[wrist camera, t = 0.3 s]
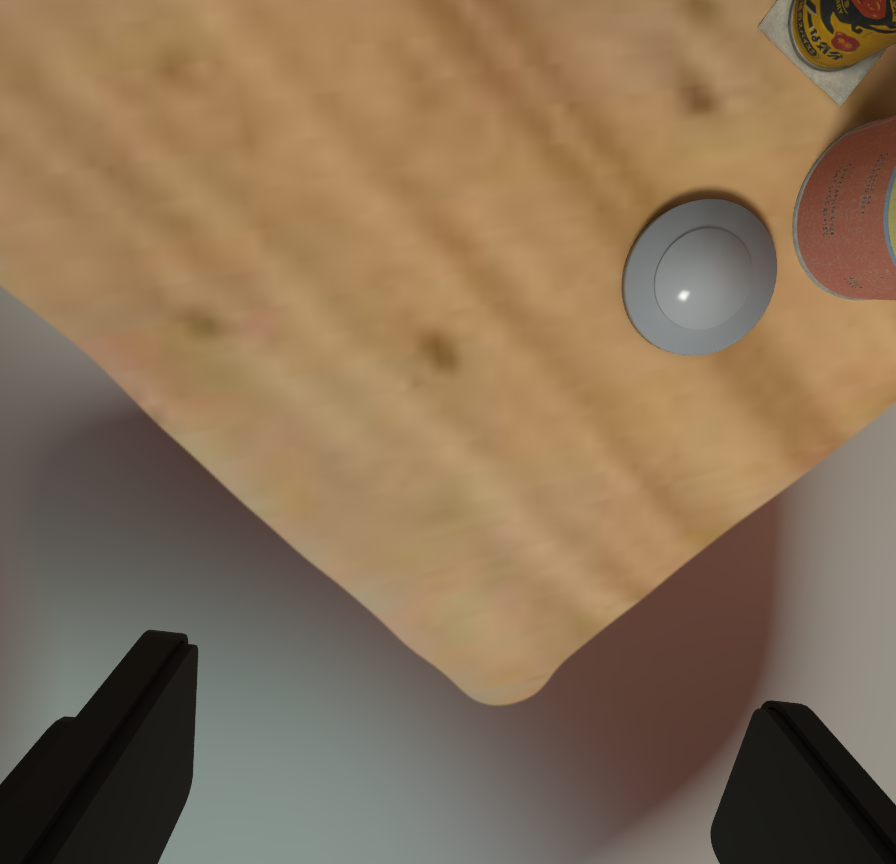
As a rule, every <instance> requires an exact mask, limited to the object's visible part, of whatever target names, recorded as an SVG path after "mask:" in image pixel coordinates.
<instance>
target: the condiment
mask: <svg viewBox="0 0 896 864" xmlns="http://www.w3.org/2000/svg"><path fill="white" fill-rule="evenodd" d="M758 27H759V28H760V30H761V31H762V32H763V33H765V35H767V36H768V37H769V38H770V39H771V40H772V42H773V43H774V44H775V45H777V46H778V48H779V49H780V50H781V51H782V52H783V53H784V54H785V55H786V56H787V57H788V58H789V59H790V60H791V61H792V62H793V63H794V64H795V65H796V66H797V67H798V68H799V69H801V70H802V71H803V72H804V73H805V74H806V75H807V76H808V77H809V78H810V79H811V80H812V81H813V82H814V83H815V84H816V85H818V86H819V87H820V88H821V89H823V90H824V91H825V92H826V93H827V94H828V95H829V96H830V97H831V98H832V99H833V100H834V101H835V102H836V103H837V104H838V105H839V106H841V105H842V104H843V103H844V102H845V100H846V99H847V98H848V96H849V95H850V94H851V93H852V91H853V90H854V89H855V87H856V86H857V85H858V84H859V82H860V81H861V80H862V79H863V77H864V76H865V75H866V74H867V73H868V71H869V70H870V68H871V67H872V66H873V65H874V64H875V62H876V61H877V60H878V59H879V58H880V57H881V55H882V54H883V52H884V51H885V50H886V49H887V48H888V47H890V46H891V45H893V44H895V43H896V0H777V2H776V3H775V5H774V6H773V7H772V9H771V10H770V11H769V12H768V14H767V15H766V16H765V18H764V19H763V21H762V22H761V23H760V25H759V26H758Z"/></svg>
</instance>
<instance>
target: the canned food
mask: <svg viewBox="0 0 896 864" xmlns="http://www.w3.org/2000/svg"><path fill="white" fill-rule="evenodd" d="M793 239H794V245H795V250H796V253H797V256H798V259H799V261H800V263H801V265H802V267H803V269H804V270H805V272H806V273H807V275H808V276H809V277H810V279H811V280H812V281H813V282H814V283H815V284H817V285H818V286H819V287H820V288H822V289H823V290H825V291H827V292H828V293H830V294H833V295H835V296H838V297H841V298H845V299H851V300H872V299H878V300H896V115H893V116H890V117H887V118H884V119H879V120H875V121H872V122H869V123H866V124H863V125H861V126H859V127H856V128H855V129H853V130H851V131H849V132H847V133H846V134H844V135H843V136H841V137H840V138H839V139H838V140H836V141H835V142H834V143H833V144H832V145H830V146H829V147H828V148H827V149H826V150H825V151H824V153H823V154H822V155H821V156H820V157H819V158H818V160H817V161H816V162H815V164H814V165H813V166H812V168H811V170H810V171H809V173H808V174H807V176H806V178H805V180H804V182H803V184H802V187H801V189H800V192H799V195H798V197H797V201H796V205H795V209H794V216H793Z"/></svg>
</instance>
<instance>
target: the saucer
mask: <svg viewBox="0 0 896 864" xmlns="http://www.w3.org/2000/svg"><path fill="white" fill-rule="evenodd" d="M776 275H777V259H776V253H775V248H774V245H773V242H772V239H771V237H770V235H769V233H768V231H767V229H766V228H765V226H764V225H763V224H762V222H761V221H760V220H759V219H758V218H757V217H756V216H755V215H754V214H753V213H752V212H750V211H749V210H747V209H746V208H744V207H742V206H741V205H738V204H736V203H733V202H730V201H726V200H721V199H701V200H696V201H691V202H688V203H685V204H682V205H679V206H676V207H674V208H672V209H670V210H668V211H666V212H664V213H663V214H661V215H660V216H658V217H657V218H655V219H654V220H653V221H652V222H651V223H650V224H649V225H648V226H647V227H646V228H645V229H644V230H643V231H642V232H641V234H640V235H639V236H638V238H637V239H636V240H635V242H634V244H633V246H632V247H631V249H630V252H629V254H628V256H627V259H626V262H625V266H624V269H623V276H622V299H623V303H624V308H625V310H626V313H627V316H628V318H629V320H630V322H631V324H632V325H633V327H634V328H635V329H636V331H637V332H638V333H639V334H640V335H641V336H642V337H643V338H644V339H645V340H646V341H648V342H649V343H650V344H652V345H654V346H656V347H658V348H660V349H662V350H665V351H668V352H671V353H675V354H679V355H687V356H699V355H706V354H711V353H714V352H717V351H720V350H722V349H725V348H727V347H729V346H731V345H732V344H734V343H736V342H737V341H739V340H740V339H741V338H742V337H744V336H745V335H746V334H747V333H748V332H749V331H750V330H751V329H752V328H753V327H754V326H755V325H756V323H757V322H758V321H759V320H760V318H761V317H762V315H763V314H764V312H765V310H766V308H767V306H768V304H769V302H770V300H771V297H772V294H773V291H774V287H775V283H776Z"/></svg>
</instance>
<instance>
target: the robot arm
mask: <svg viewBox="0 0 896 864" xmlns="http://www.w3.org/2000/svg"><path fill="white" fill-rule="evenodd" d="M197 664H198V647H197V646H196V645H192V644H188V638H187V635H186V634H183V633H173V632H165V631H156V630H148V631H146V632H145V633H144V634H143V635H142V636H141V637H140V638H139V640H138V641H137V642H136V643H135V644H134V646H133V647H132V648H131V649H130V651H129V652H128V653H127V654H126V656H125V657H124V658H123V659H122V660H121V662H120V663H119V664H118V665H117V667H116V668H115V669H114V670H113V672H112V673H111V674H110V675H109V677H108V678H107V679H106V680H105V682H104V683H103V684H102V685H101V687H100V688H99V689H98V690H97V691H96V693H95V694H94V695H93V696H92V698H91V699H90V700H89V701H88V703H87V704H86V705H85V706H84V708H83V709H82V710H81V711H80V712H79V714H78V715H77V716H76V717H62V718H61V719H59V720H57V721H56V722H55V723H54V724H52V725H51V726H50V727H49V728H48V729H47V730H46V732H45V733H44V734H43V735H42V736H41V737H40V739H39V740H38V741H37V742H36V743H35V744H34V746H33V747H32V748H31V749H30V750H29V752H28V753H27V754H26V755H25V756H24V758H23V759H22V760H21V761H20V762H19V763H18V765H17V766H16V767H15V768H14V769H13V770H12V772H11V773H10V774H9V775H8V776H7V777H6V779H5V780H4V781H3V782H2V783H1V784H0V864H158V862H159V859H160V857H161V855H162V853H163V851H164V849H165V847H166V844H167V842H168V840H169V838H170V836H171V833H172V831H173V829H174V827H175V825H176V823H177V821H178V819H179V816H180V814H181V812H182V810H183V808H184V806H185V803H186V801H187V798H188V795H189V792H190V788H191V784H192V777H193V758H194V736H195V713H196V689H197V667H198V665H197ZM711 843H712V847H713V850H714V852H715V855H716V857H717V859H718V861H719V863H720V864H896V805H895V804H894V803H893V802H892V801H891V799H890V798H889V797H888V796H887V795H886V794H885V793H884V791H882V789H881V788H880V787H879V786H878V785H877V784H876V782H875V781H874V780H873V779H872V778H871V777H870V776H869V775H868V773H867V772H866V771H865V770H864V769H863V768H862V767H861V765H860V764H859V763H858V762H857V761H856V760H855V759H854V758H853V756H852V755H851V754H850V753H849V752H848V751H847V750H846V748H845V747H844V746H843V745H842V744H841V743H840V742H839V741H838V739H837V738H836V737H835V736H834V735H833V734H832V733H831V732H830V730H829V729H828V728H827V727H826V726H825V725H824V724H823V722H822V721H821V720H820V719H819V718H818V717H817V716H816V715H815V713H814V712H813V711H812V710H811V709H810V708H808V707H807V706H805V705H802V704H798V703H789V702H781V701H767V702H765V703H764V704H763V705H762V707H761V708H760V709H757V710H755V711H754V713H753V715H752V717H751V720H750V723H749V726H748V728H747V731H746V734H745V737H744V739H743V742H742V745H741V747H740V750H739V753H738V755H737V758H736V761H735V763H734V766H733V769H732V772H731V774H730V777H729V780H728V782H727V785H726V788H725V791H724V793H723V796H722V799H721V801H720V804H719V807H718V810H717V812H716V815H715V817H714V820H713V823H712V826H711Z"/></svg>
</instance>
